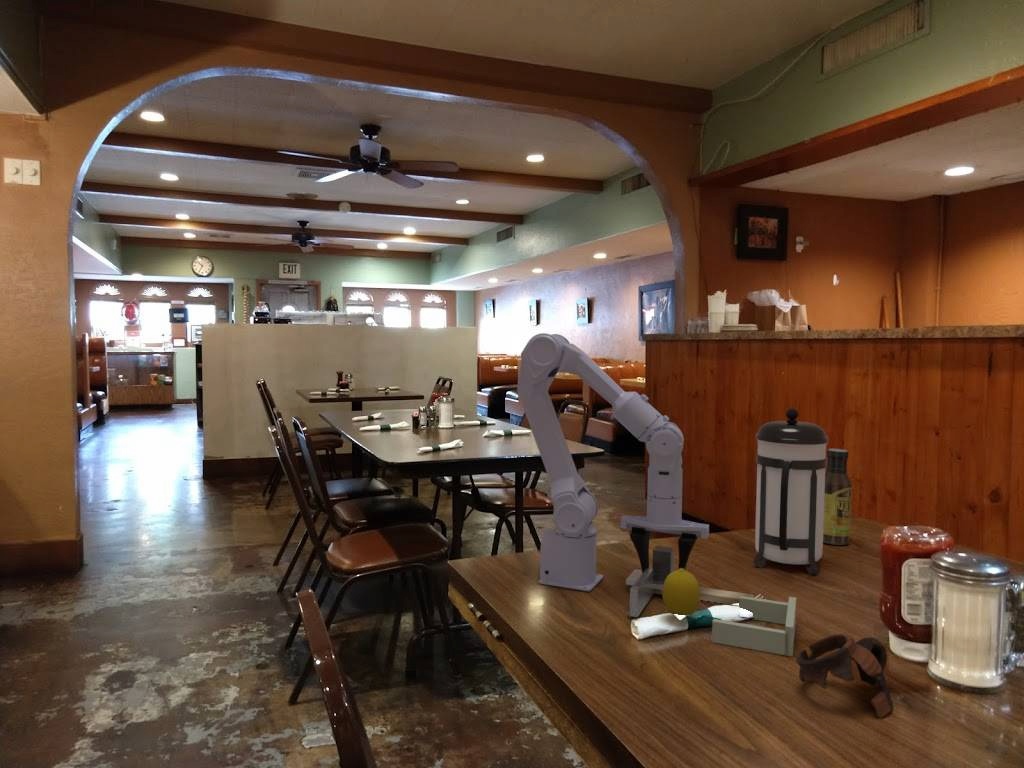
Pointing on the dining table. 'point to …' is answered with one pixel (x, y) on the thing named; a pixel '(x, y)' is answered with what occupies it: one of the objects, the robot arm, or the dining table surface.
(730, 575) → the dining table surface
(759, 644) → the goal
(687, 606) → the lemon
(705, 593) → the rail
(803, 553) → the coffee press
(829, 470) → the sauce bottle
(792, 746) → the dining table surface
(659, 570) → the slider
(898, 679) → the dining table surface
